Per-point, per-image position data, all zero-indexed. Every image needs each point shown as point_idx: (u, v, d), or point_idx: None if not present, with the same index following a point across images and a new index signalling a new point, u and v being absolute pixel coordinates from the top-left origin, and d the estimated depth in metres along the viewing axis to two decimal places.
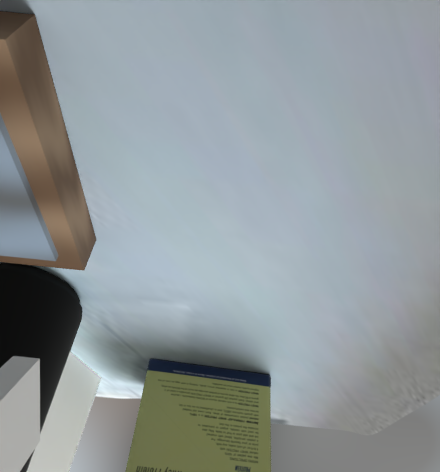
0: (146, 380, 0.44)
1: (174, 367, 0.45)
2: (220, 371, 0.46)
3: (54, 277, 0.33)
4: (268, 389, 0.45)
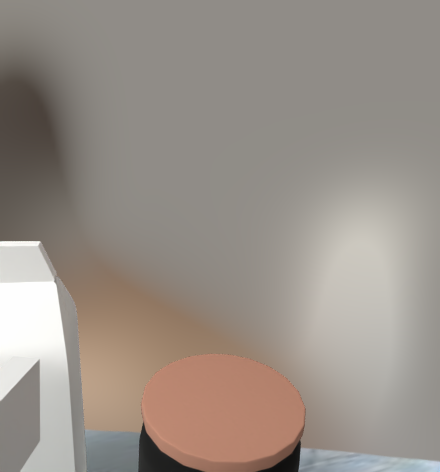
0: None
1: None
2: None
3: None
4: None
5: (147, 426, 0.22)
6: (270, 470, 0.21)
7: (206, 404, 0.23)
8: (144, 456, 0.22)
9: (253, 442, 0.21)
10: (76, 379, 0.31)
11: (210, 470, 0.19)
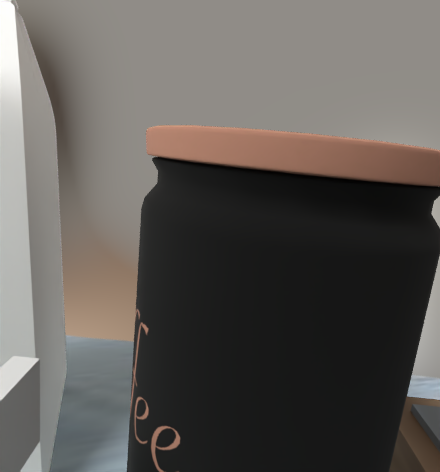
0: None
1: None
2: None
3: None
4: None
5: (158, 135, 0.11)
6: (410, 214, 0.10)
7: None
8: (150, 211, 0.12)
9: None
10: (47, 196, 0.20)
11: (299, 162, 0.09)
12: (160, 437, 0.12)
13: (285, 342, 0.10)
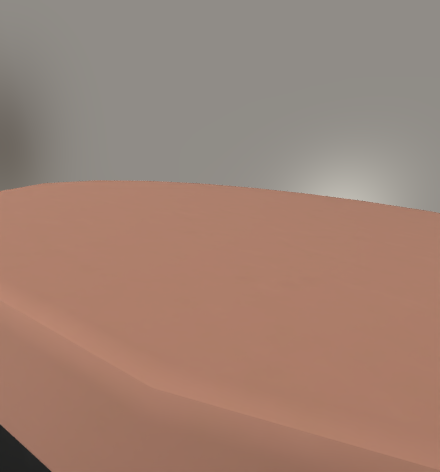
0: None
1: None
2: None
3: None
4: None
5: None
6: None
7: (279, 223, 0.05)
8: None
9: None
10: None
11: None
12: None
13: None
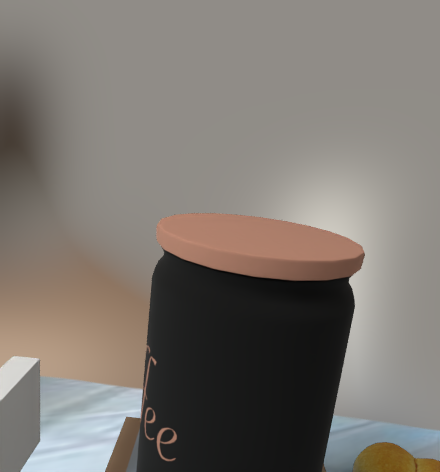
0: None
1: None
2: None
3: None
4: None
5: (165, 238, 0.17)
6: (324, 294, 0.16)
7: (238, 231, 0.19)
8: (159, 284, 0.18)
9: (303, 252, 0.16)
10: None
11: (250, 270, 0.15)
12: (163, 435, 0.18)
13: (243, 376, 0.15)
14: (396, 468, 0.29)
